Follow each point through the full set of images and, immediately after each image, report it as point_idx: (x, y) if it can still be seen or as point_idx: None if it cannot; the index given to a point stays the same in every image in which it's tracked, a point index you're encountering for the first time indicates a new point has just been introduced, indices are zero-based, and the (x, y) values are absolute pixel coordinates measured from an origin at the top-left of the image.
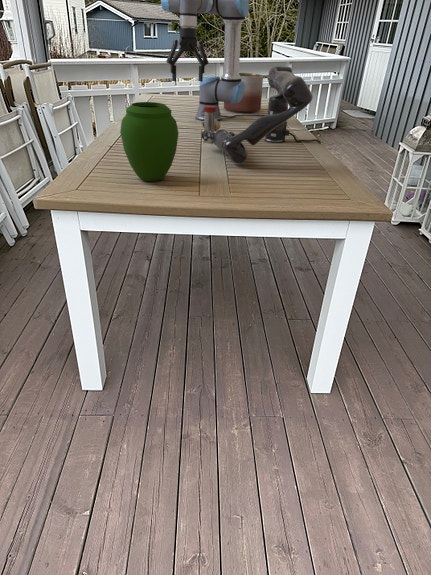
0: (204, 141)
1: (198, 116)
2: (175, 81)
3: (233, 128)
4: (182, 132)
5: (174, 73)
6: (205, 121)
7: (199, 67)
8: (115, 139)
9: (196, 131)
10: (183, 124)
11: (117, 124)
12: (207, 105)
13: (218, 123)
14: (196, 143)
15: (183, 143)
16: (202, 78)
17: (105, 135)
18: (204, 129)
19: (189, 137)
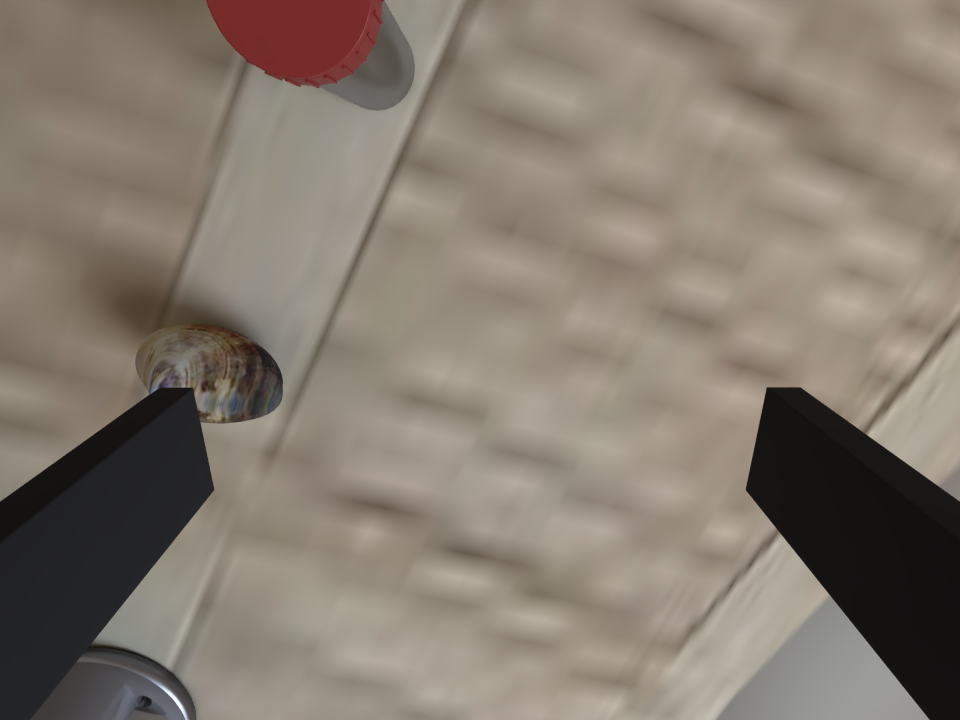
0: (413, 62)
1: (181, 716)
2: (784, 387)
3: (16, 433)
4: (440, 413)
5: (906, 476)
6: (389, 16)
7: (11, 698)
8: (954, 346)
9: (329, 415)
10: (337, 611)
11: (723, 686)
12: (293, 74)
13: (151, 339)
14: (493, 46)
15: (590, 82)
16: (126, 413)
17: (943, 461)
18: (402, 50)
19: (457, 257)
